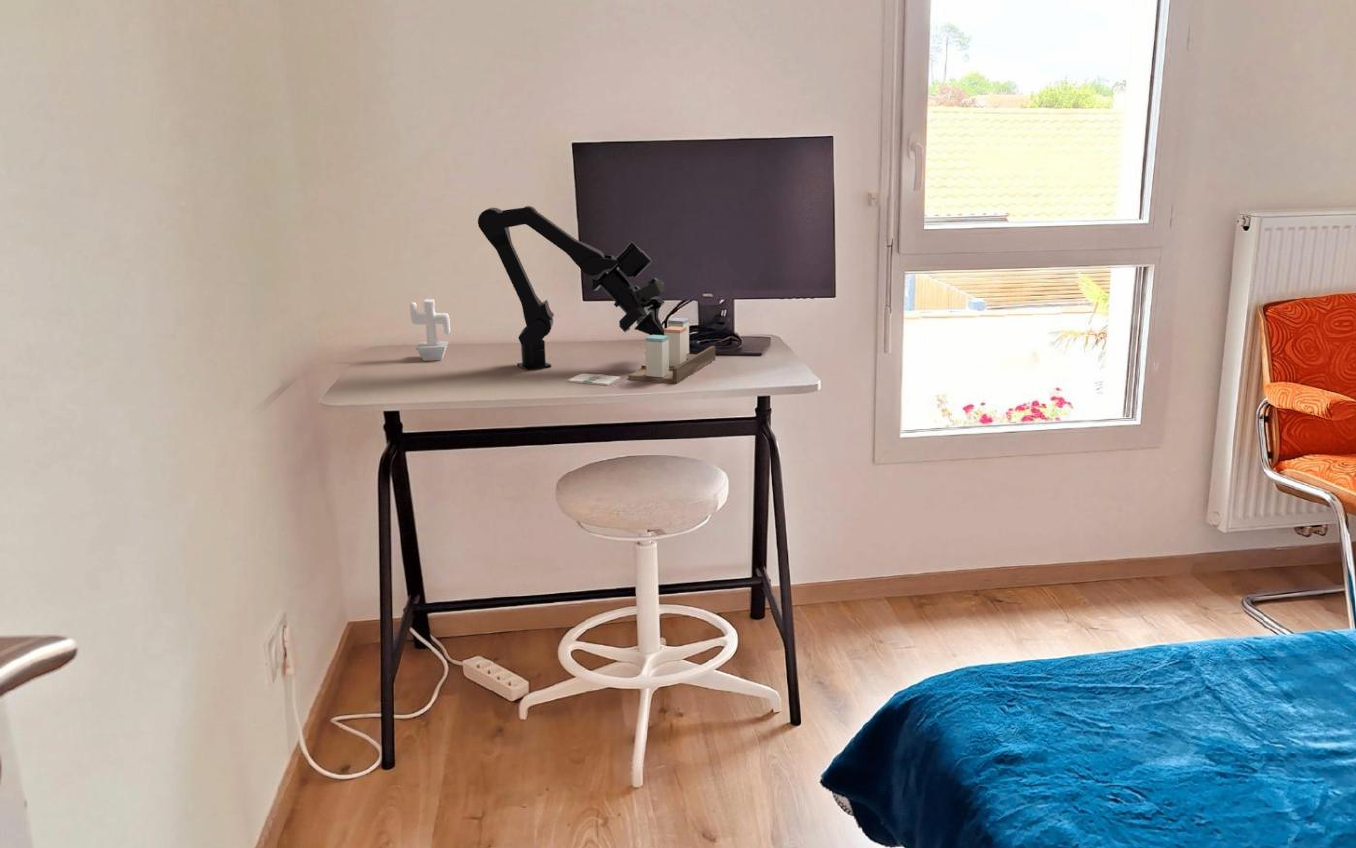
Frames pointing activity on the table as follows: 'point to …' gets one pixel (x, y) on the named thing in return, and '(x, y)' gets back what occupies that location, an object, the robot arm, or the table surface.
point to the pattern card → (594, 379)
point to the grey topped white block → (681, 323)
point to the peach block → (676, 344)
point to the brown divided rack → (679, 368)
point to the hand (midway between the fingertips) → (666, 339)
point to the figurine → (430, 330)
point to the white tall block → (657, 355)
